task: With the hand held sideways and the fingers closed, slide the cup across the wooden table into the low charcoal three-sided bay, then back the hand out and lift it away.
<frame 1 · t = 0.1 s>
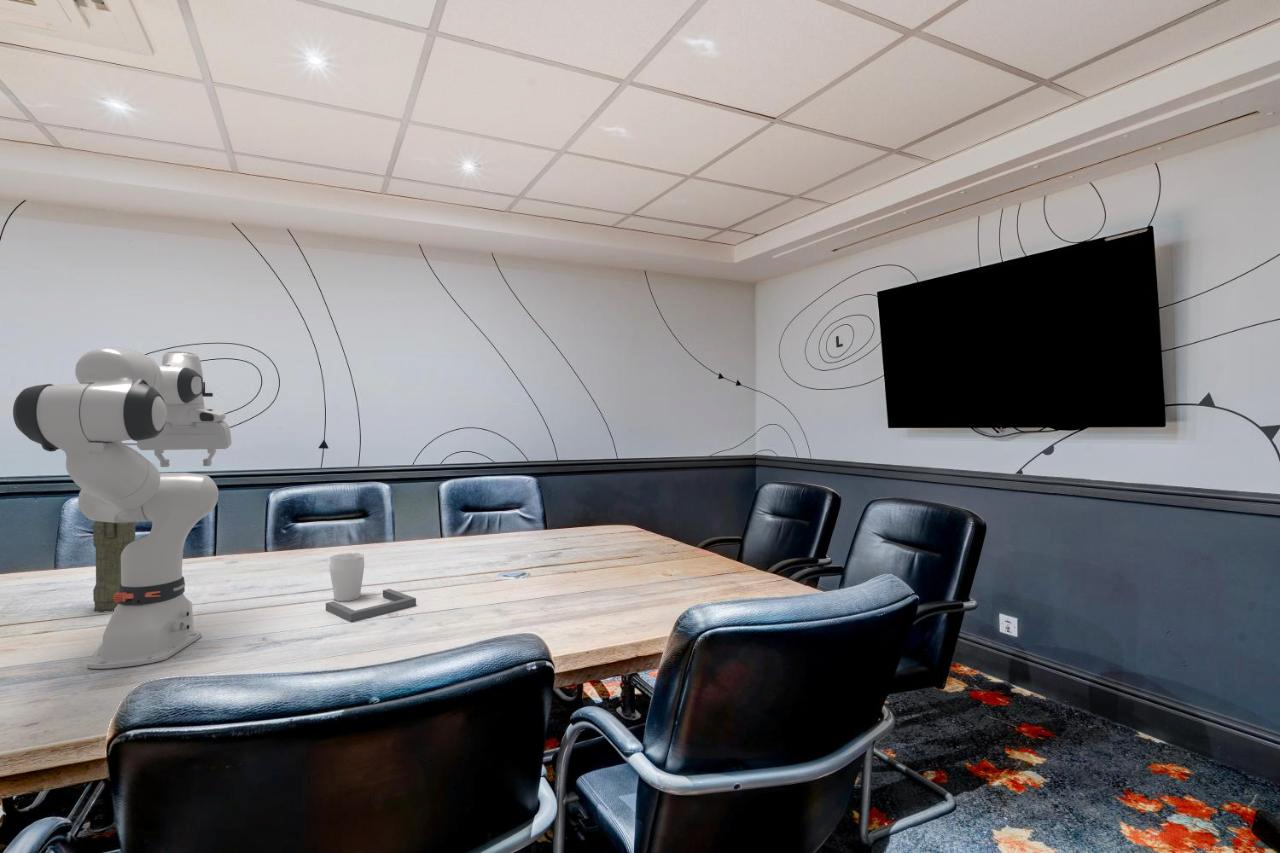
hand: (186, 466, 164), 39 cm above the table, tool pointing down, fingers open, 8 cm apart
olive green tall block: (115, 607, 169), on the table
cup: (347, 598, 178), on the table
bay: (367, 606, 170), on the table
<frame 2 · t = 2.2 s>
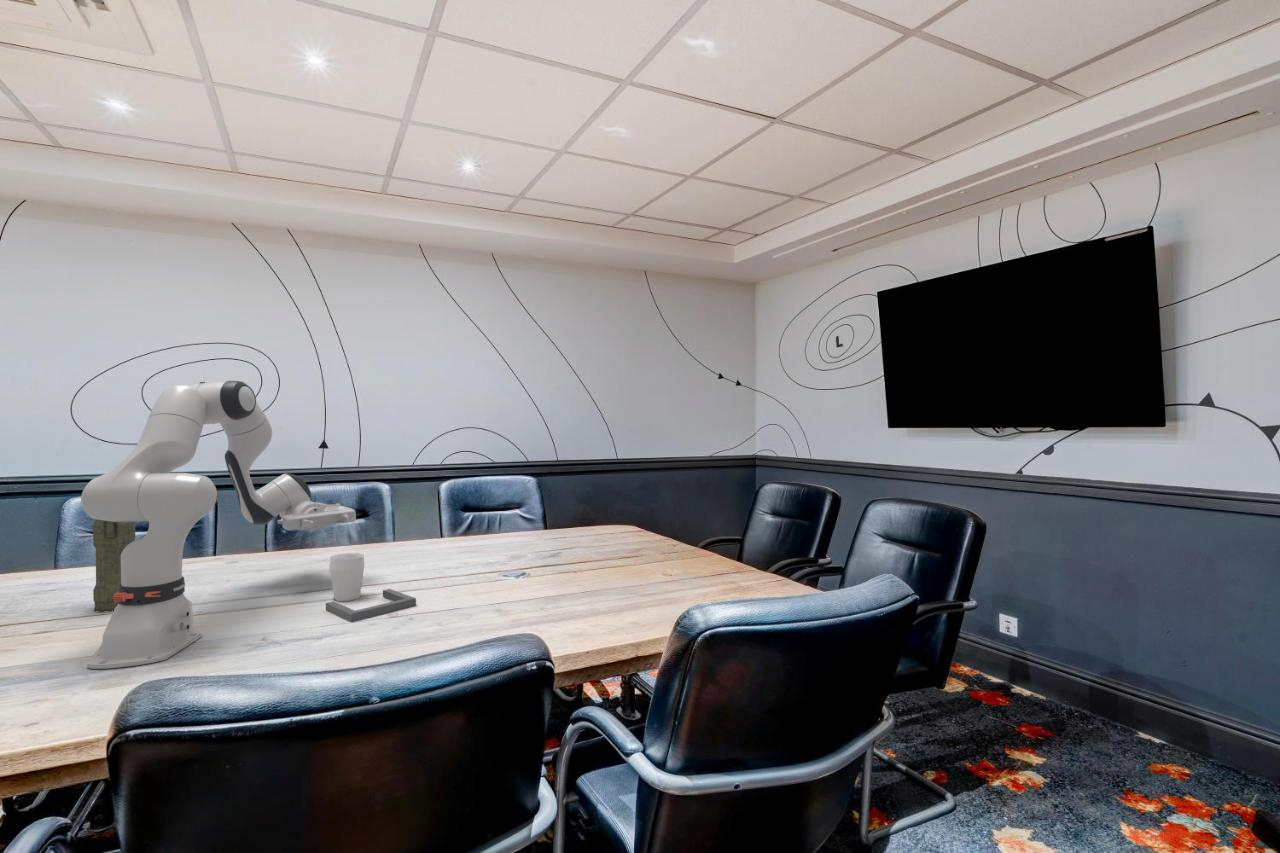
hand: (330, 522, 184), 21 cm above the table, tool horizontal, fingers open, 8 cm apart
nothing on the table moved.
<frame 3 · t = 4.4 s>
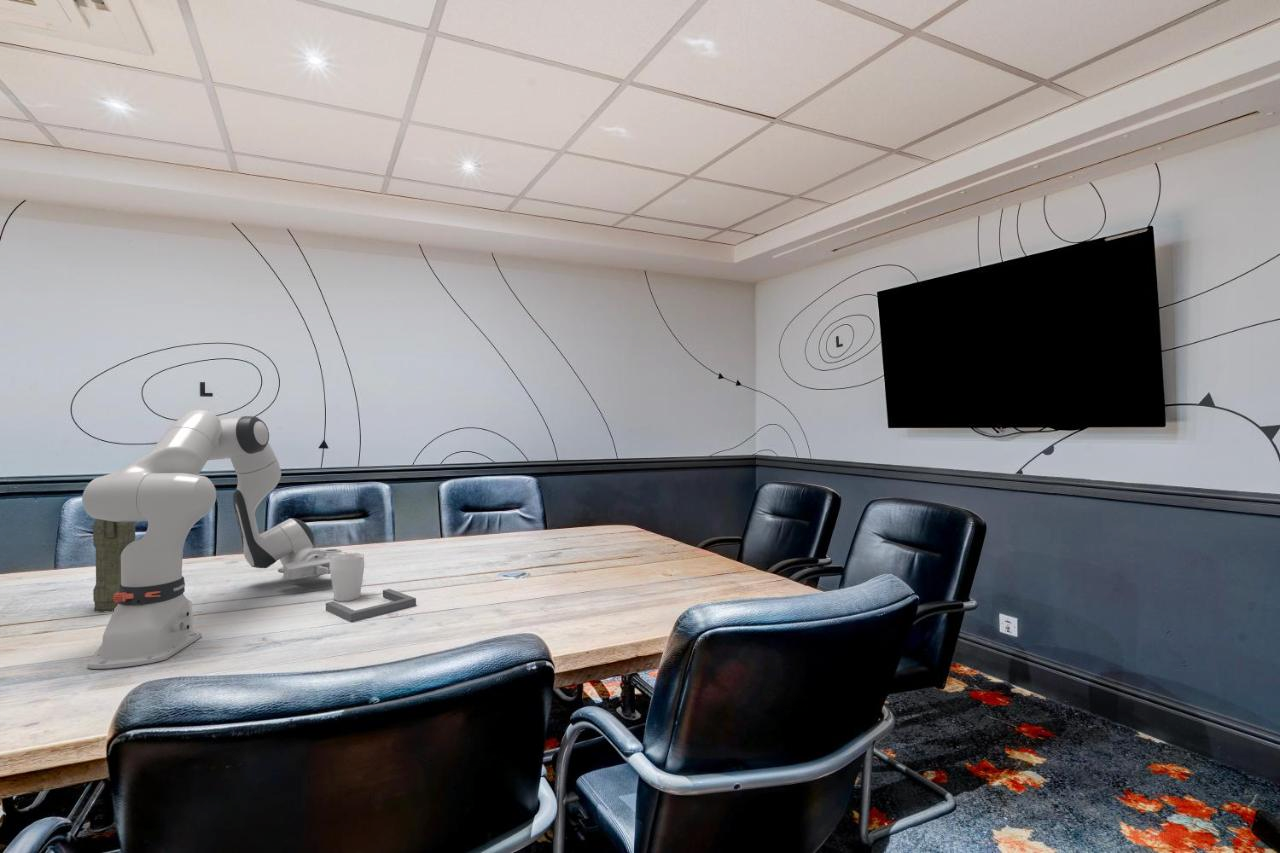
hand: (331, 570, 184), 6 cm above the table, tool horizontal, fingers closed
nothing on the table moved.
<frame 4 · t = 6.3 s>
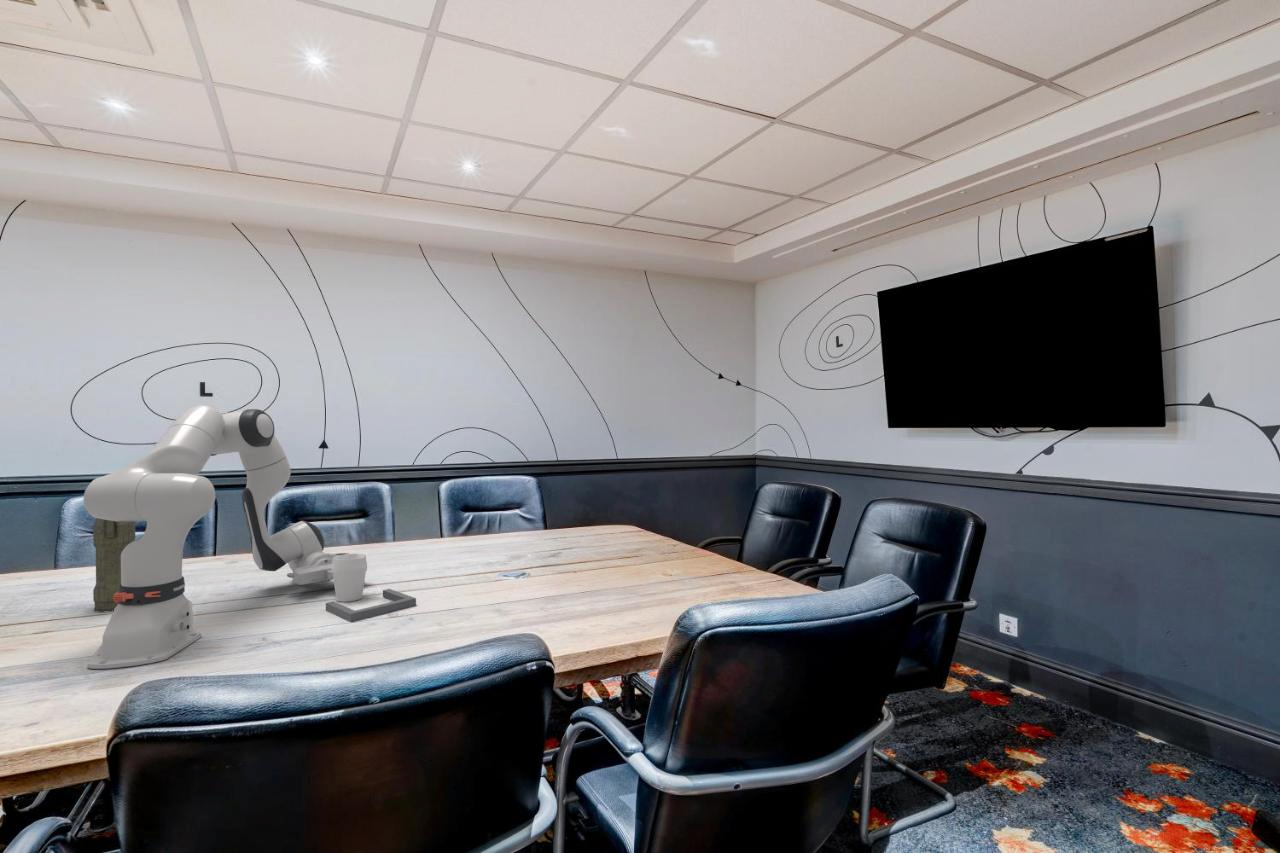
hand: (342, 575, 180), 6 cm above the table, tool horizontal, fingers closed, pressing on cup
cup: (349, 599, 177), on the table, touching gripper
everything else where it was.
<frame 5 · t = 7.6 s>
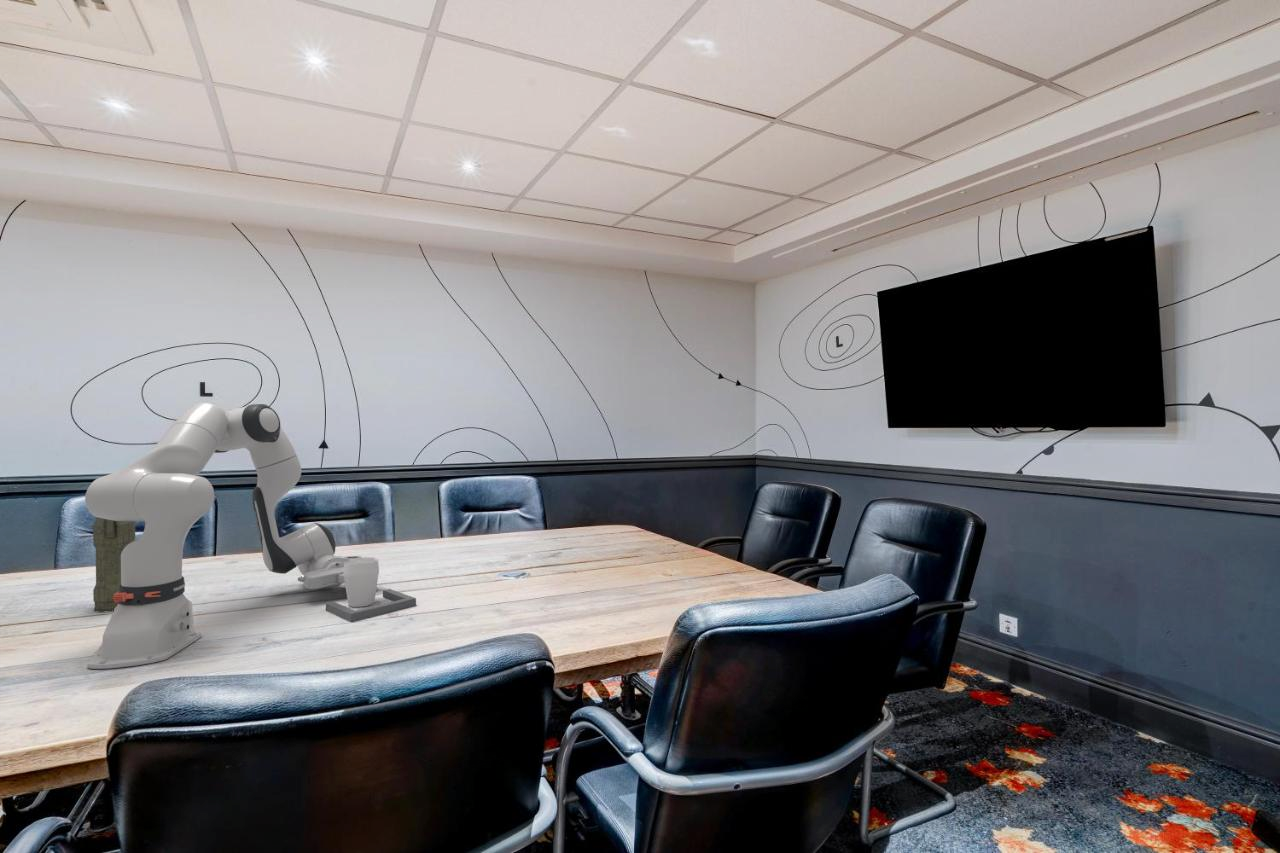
hand: (354, 579, 175), 6 cm above the table, tool horizontal, fingers closed, pressing on cup
cup: (361, 604, 172), on the table, touching gripper
everything else where it was.
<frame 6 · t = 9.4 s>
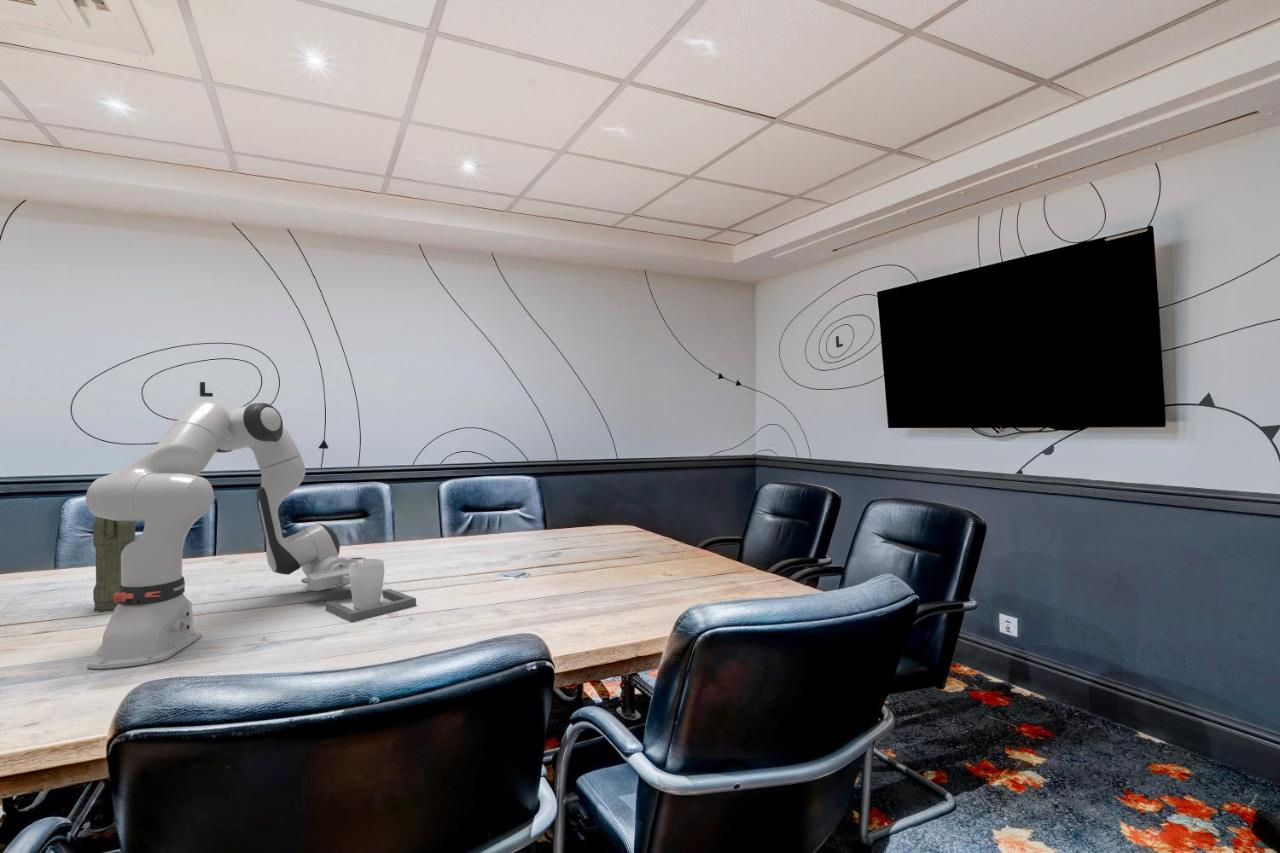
hand: (358, 580, 173), 6 cm above the table, tool horizontal, fingers closed
cup: (366, 606, 170), on the table
everything else where it was.
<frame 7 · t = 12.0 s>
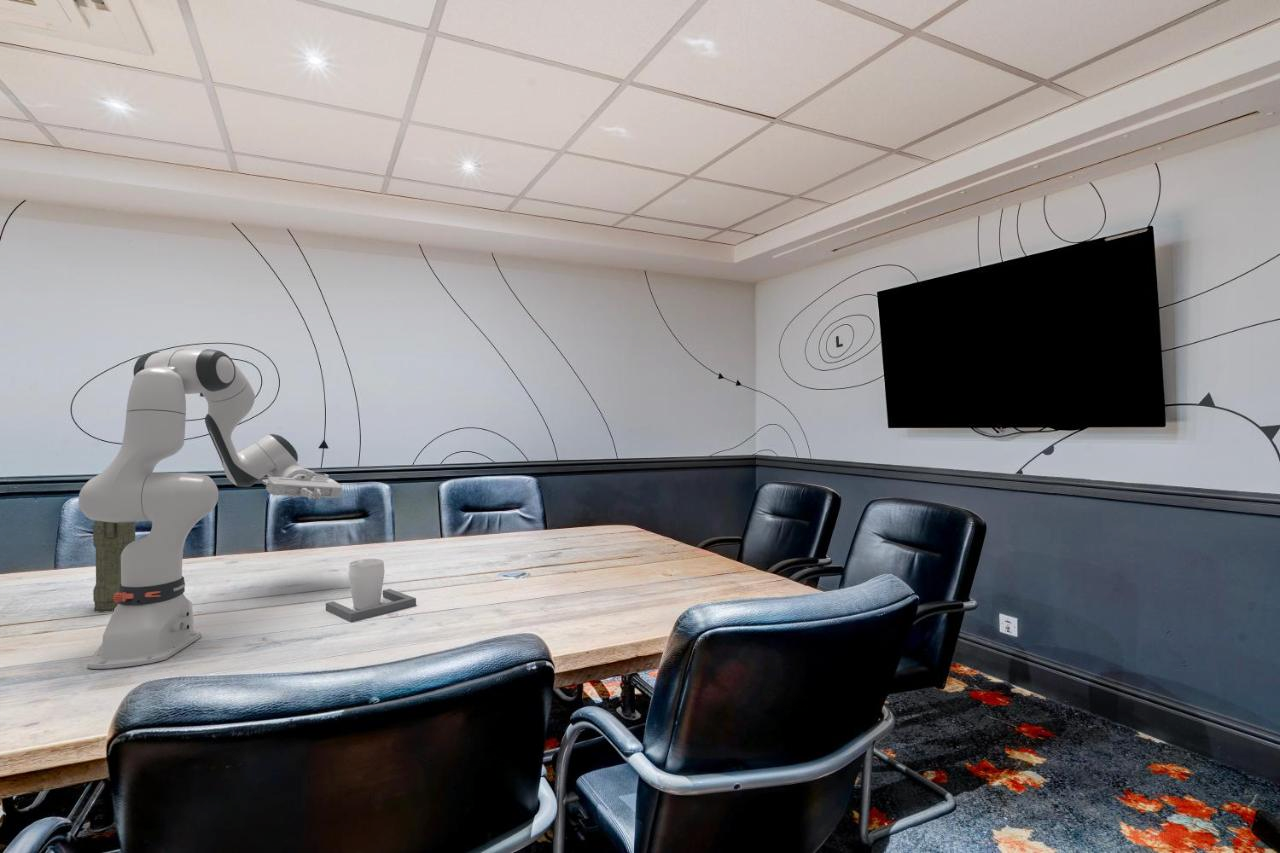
hand: (315, 496, 179), 29 cm above the table, tool horizontal, fingers closed
nothing on the table moved.
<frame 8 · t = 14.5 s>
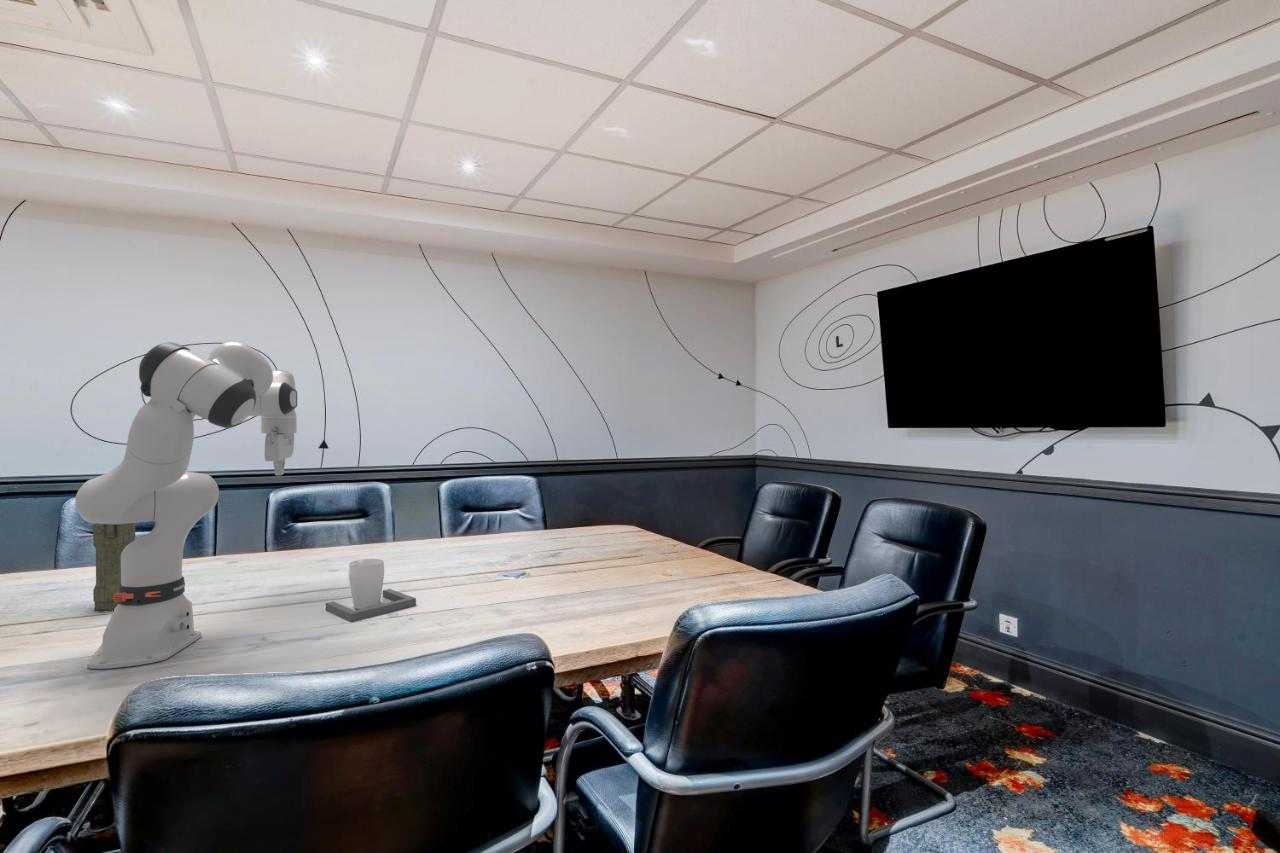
hand: (279, 475, 179), 35 cm above the table, tool pointing down, fingers closed
nothing on the table moved.
at the end: cup 0.5 cm from the bay (horizontally); cup tilted 0°; cup moved 11.5 cm from its start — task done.
